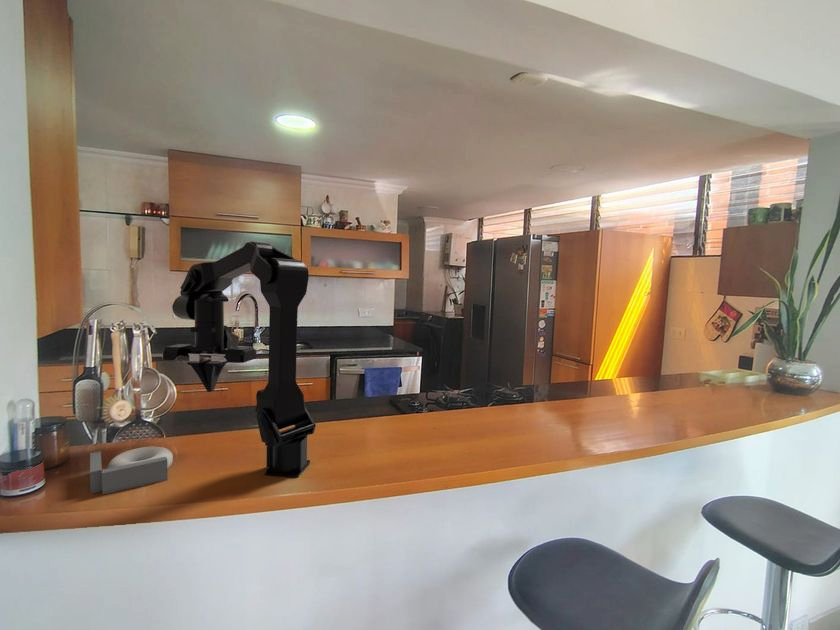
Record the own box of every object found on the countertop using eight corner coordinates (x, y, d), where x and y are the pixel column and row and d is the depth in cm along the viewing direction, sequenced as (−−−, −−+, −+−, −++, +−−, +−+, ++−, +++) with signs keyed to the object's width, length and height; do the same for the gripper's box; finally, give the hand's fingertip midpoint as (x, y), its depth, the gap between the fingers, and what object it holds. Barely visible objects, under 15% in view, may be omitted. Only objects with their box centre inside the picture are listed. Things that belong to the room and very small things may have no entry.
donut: (183, 451, 75) (120, 472, 67) (183, 469, 75) (121, 492, 67) (157, 438, 80) (96, 456, 72) (158, 455, 81) (97, 475, 73)
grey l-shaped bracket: (172, 478, 72) (171, 456, 72) (138, 500, 65) (138, 476, 64) (96, 471, 73) (95, 450, 73) (55, 492, 66) (54, 469, 66)
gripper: (267, 320, 96) (267, 384, 97) (193, 318, 98) (194, 381, 99) (242, 324, 85) (243, 397, 86) (159, 321, 87) (161, 393, 88)
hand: (210, 391), depth 90 cm, fingers closed
